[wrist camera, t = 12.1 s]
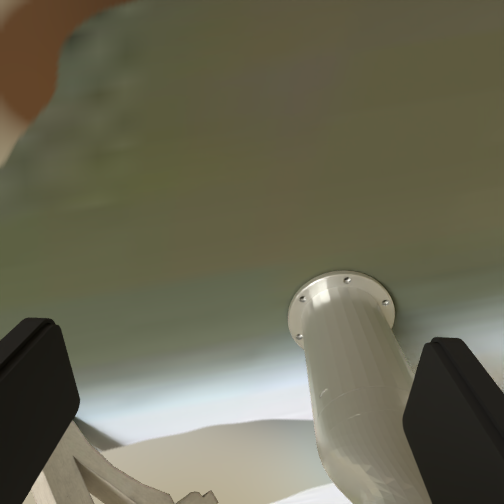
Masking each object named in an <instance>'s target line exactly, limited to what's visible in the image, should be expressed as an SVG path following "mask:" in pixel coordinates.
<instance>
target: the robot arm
mask: <svg viewBox="0 0 504 504" xmlns="http://www.w3.org/2000/svg"><path fill="white" fill-rule="evenodd" d="M346 277H347V278H346ZM301 296H303V297H301ZM394 319H395V309H394V304H393V301H392V299H391V297H390V295H389V293H388V292H387V290H386V289H385V288H384V287H383V286H382V284H381V283H379V282H378V281H377V280H375V279H374V278H372V277H370V276H368V275H366V274H363V273H359V272H355V271H345V270H343V271H333V272H329V273H325V274H322V275H319V276H317V277H315V278H313V279H311V280H310V281H308V282H307V283H305V284H304V285H303V286H302V287H301V288H300V289H299V290H298V291H297V292H296V294H295V295H294V297H293V298H292V301H291V303H290V305H289V310H288V325H289V330H290V333H291V335H292V337H293V339H294V340H295V342H296V343H297V344H298V345H299V346H300V347H301V348H302V349H303V350H305V358H306V366H307V374H308V382H309V389H310V397H311V405H312V413H313V420H314V428H315V435H316V443H317V448H318V453H319V457H320V459H321V462H322V465H323V467H324V469H325V471H326V472H327V474H328V476H329V478H330V479H331V480H332V482H333V483H334V484H335V486H336V487H337V488H338V489H339V490H340V491H341V492H342V493H343V494H344V495H345V496H346V497H347V498H348V499H349V500H350V501H351V502H352V503H353V504H504V393H503V392H502V391H501V390H500V388H499V387H498V386H497V384H496V383H495V382H494V380H493V379H492V378H491V376H490V375H489V374H488V373H487V371H486V370H485V369H484V367H483V366H482V365H481V363H480V362H479V361H478V360H477V358H476V357H475V356H474V354H473V353H472V352H471V350H470V349H469V348H468V346H467V345H466V344H465V343H464V342H463V341H462V340H461V339H459V338H443V337H435V338H433V339H432V340H431V342H430V343H426V344H425V345H424V347H423V351H422V354H421V357H420V361H419V364H418V367H417V371H416V374H415V375H414V373H413V371H412V369H411V367H410V365H409V363H408V361H407V359H406V357H405V356H404V354H403V352H402V350H401V348H400V346H399V344H398V342H397V340H396V338H395V336H394V334H393V332H392V327H393V324H394ZM79 404H80V397H79V394H78V390H77V386H76V383H75V379H74V375H73V372H72V368H71V364H70V361H69V357H68V353H67V350H66V346H65V342H64V339H63V335H62V331H61V328H60V326H59V325H55V322H54V321H53V320H52V319H49V318H25V319H24V320H22V321H21V322H20V323H19V324H18V325H17V326H16V327H15V328H13V329H12V330H11V331H10V332H9V333H8V334H7V335H6V336H5V337H4V338H3V339H2V340H1V341H0V504H22V503H23V501H24V500H25V498H26V496H27V495H28V493H29V491H30V490H31V488H32V486H33V485H34V483H35V481H36V480H37V478H38V477H39V475H40V473H41V472H42V470H43V468H44V467H45V465H46V463H47V462H48V460H49V458H50V457H51V455H52V453H53V452H54V450H55V448H56V447H57V445H58V443H59V442H60V440H61V438H62V437H63V435H64V433H65V432H66V430H67V428H68V427H69V425H70V423H71V422H72V420H73V418H74V417H75V415H76V413H77V411H78V408H79Z"/></svg>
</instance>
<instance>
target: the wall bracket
mask: <svg viewBox="0 0 504 504" xmlns="http://www.w3.org/2000/svg"><path fill="white" fill-rule="evenodd" d="M31 491H32V493H33V496H34V499H35V501H36V504H94V502H93V500H92V498H91V496H90V493H91V494H92V495H93V496H95V497H96V498H98V499H99V500H100V501H102V502H103V503H104V504H174V502H173V500H172V498H171V496H170V494H167V493H165V492H162V491H159V490H157V489H155V488H152V487H149V486H147V485H144V484H142V483H140V482H139V481H137V480H135V479H134V478H132V477H130V476H129V475H127V474H126V473H124V472H122V471H121V470H119V469H117V468H116V467H114V466H113V465H112V464H111V463H109V462H108V461H107V460H106V459H105V458H104V457H103V456H102V455H101V454H100V453H99V452H98V451H97V450H96V449H95V448H94V447H93V446H92V445H91V444H90V443H89V442H88V441H87V440H86V438H85V437H84V435H83V434H82V432H81V431H80V429H79V428H78V427H77V425H76V424H75V422H74V421H73V420H72V422H71V423H70V425H69V427H68V428H67V430H66V432H65V433H64V435H63V437H62V438H61V440H60V442H59V443H58V445H57V447H56V448H55V450H54V452H53V453H52V455H51V457H50V458H49V460H48V462H47V463H46V465H45V467H44V468H43V470H42V472H41V473H40V475H39V477H38V478H37V480H36V481H35V483H34V485H33V486H32V488H31ZM217 503H218V501H217V499H216V498H215V496H214V494H213V492H212V491H209V492H207V493H206V494H204V495H203V496H202V495H201V494H200V493H199V492H191V493H190V494H188V495H187V496H185V497H184V498H183V499H181V500H180V501H178V502H177V503H176V504H217Z"/></svg>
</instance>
